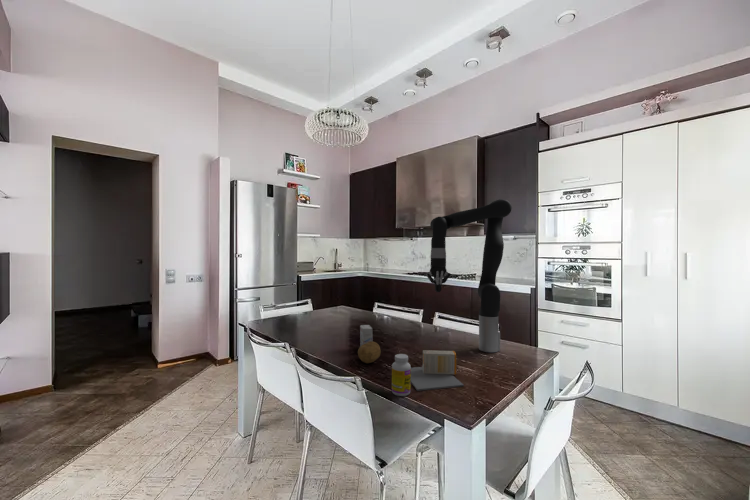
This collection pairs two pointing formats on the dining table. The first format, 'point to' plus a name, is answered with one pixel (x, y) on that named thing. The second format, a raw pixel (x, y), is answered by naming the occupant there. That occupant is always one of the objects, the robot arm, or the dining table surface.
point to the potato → (369, 352)
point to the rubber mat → (432, 380)
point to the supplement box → (439, 362)
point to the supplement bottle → (401, 376)
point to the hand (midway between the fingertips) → (438, 291)
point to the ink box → (365, 334)
